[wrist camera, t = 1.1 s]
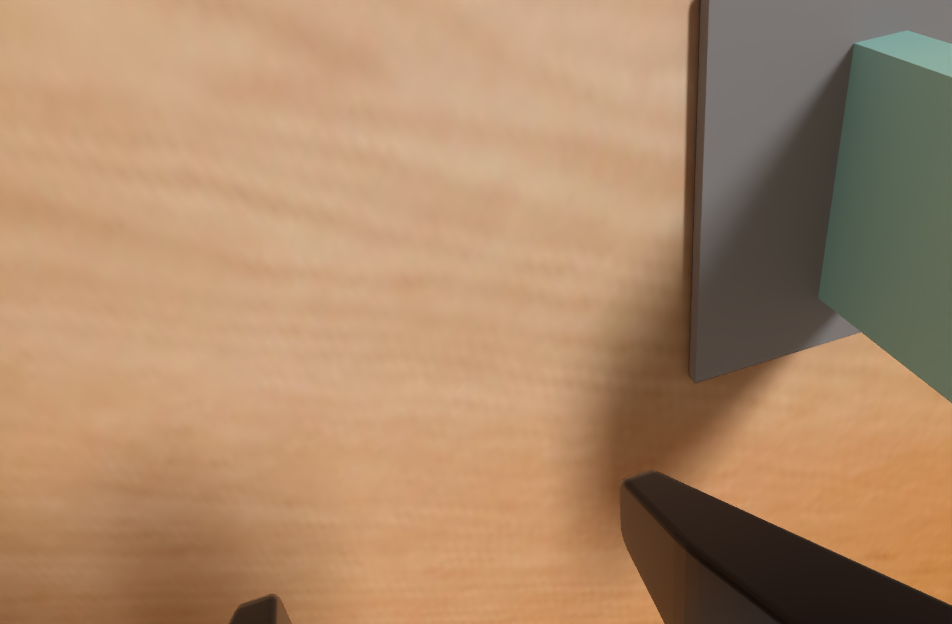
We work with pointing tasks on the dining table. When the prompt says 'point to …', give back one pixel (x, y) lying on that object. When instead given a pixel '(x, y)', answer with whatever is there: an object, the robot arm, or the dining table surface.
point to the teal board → (896, 204)
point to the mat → (774, 167)
